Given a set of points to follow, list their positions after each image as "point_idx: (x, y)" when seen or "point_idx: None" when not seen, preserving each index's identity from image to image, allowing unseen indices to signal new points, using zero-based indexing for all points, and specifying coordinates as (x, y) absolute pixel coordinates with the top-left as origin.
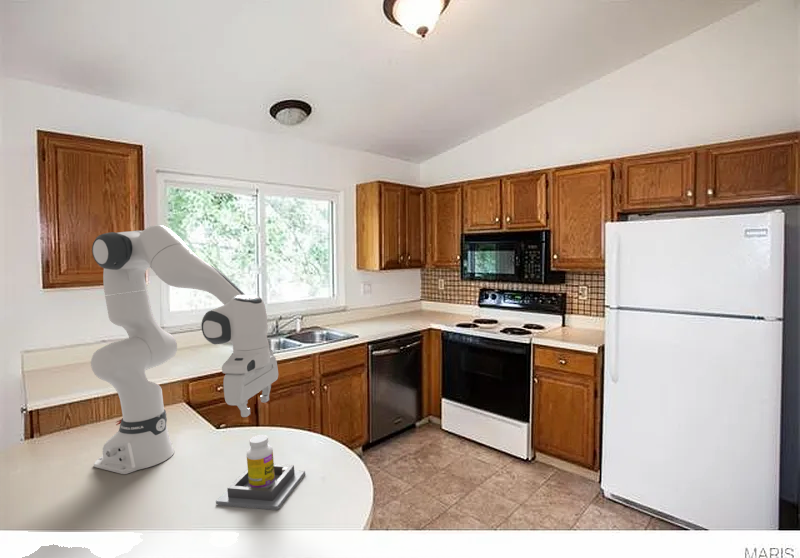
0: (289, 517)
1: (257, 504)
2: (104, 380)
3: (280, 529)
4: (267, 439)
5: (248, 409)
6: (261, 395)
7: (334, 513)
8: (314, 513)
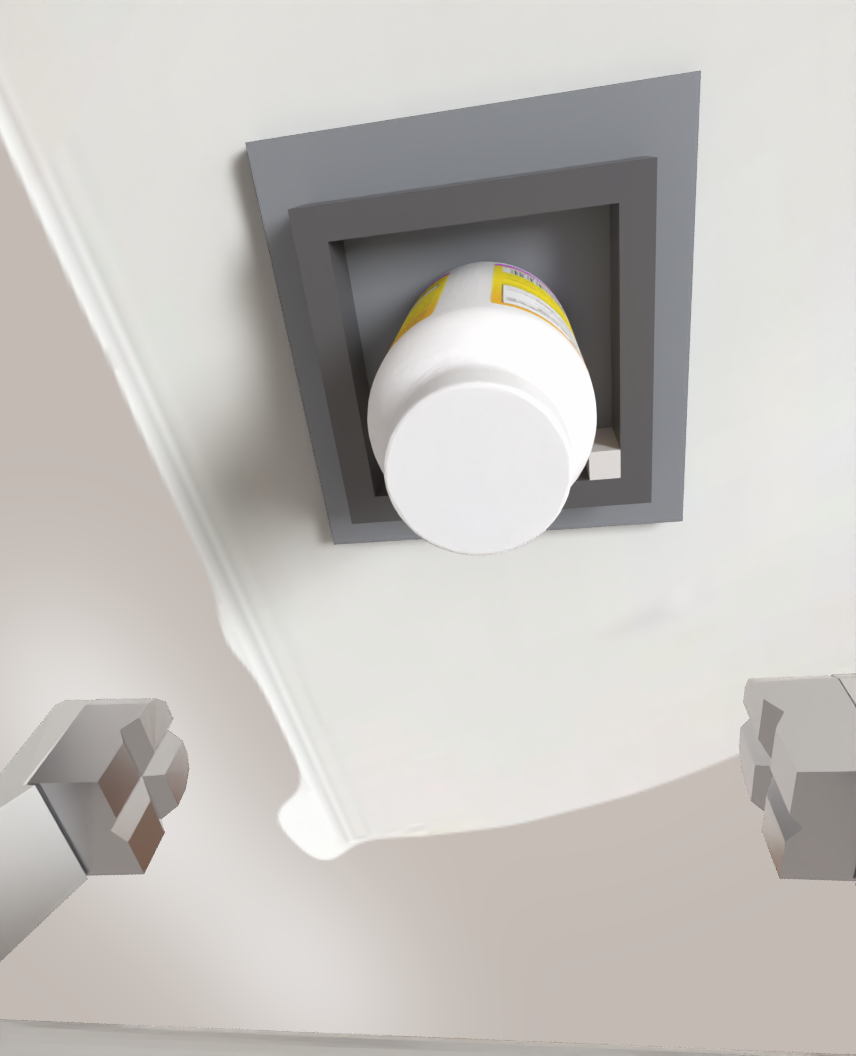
0: (314, 606)
1: (312, 438)
2: None
3: (237, 608)
4: (503, 547)
5: (94, 873)
6: (851, 773)
7: (395, 749)
8: (371, 685)
